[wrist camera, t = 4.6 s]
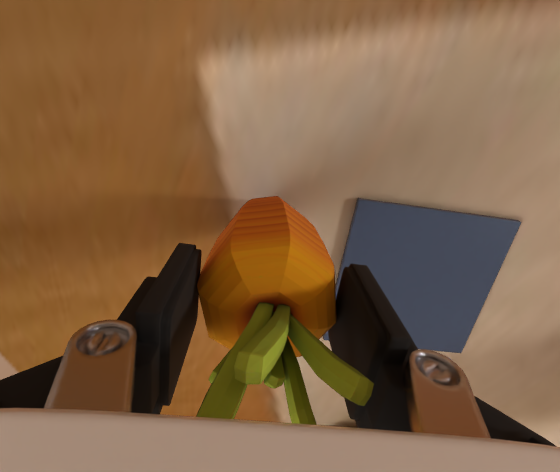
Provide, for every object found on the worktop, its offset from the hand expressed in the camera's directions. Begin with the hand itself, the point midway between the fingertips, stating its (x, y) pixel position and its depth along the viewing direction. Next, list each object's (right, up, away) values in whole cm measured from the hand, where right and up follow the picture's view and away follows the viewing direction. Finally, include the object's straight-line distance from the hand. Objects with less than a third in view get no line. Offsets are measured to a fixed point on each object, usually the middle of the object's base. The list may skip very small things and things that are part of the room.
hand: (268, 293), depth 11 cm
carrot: (0, +4, +9) cm, 10 cm away
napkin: (+10, -1, +12) cm, 15 cm away
